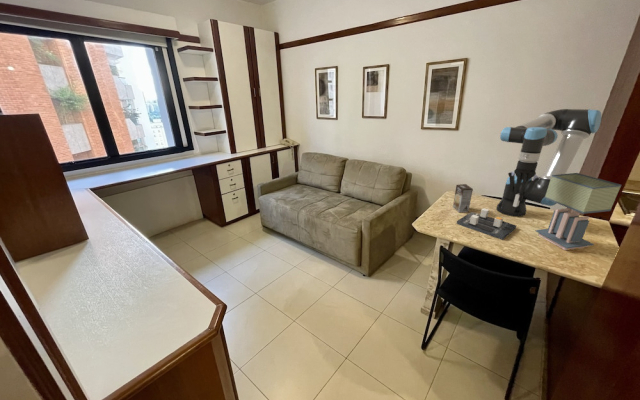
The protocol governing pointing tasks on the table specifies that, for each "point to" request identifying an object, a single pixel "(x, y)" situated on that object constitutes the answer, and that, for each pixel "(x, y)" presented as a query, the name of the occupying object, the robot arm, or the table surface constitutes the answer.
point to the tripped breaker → (498, 222)
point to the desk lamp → (576, 207)
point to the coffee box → (462, 198)
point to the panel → (487, 226)
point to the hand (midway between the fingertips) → (515, 205)
